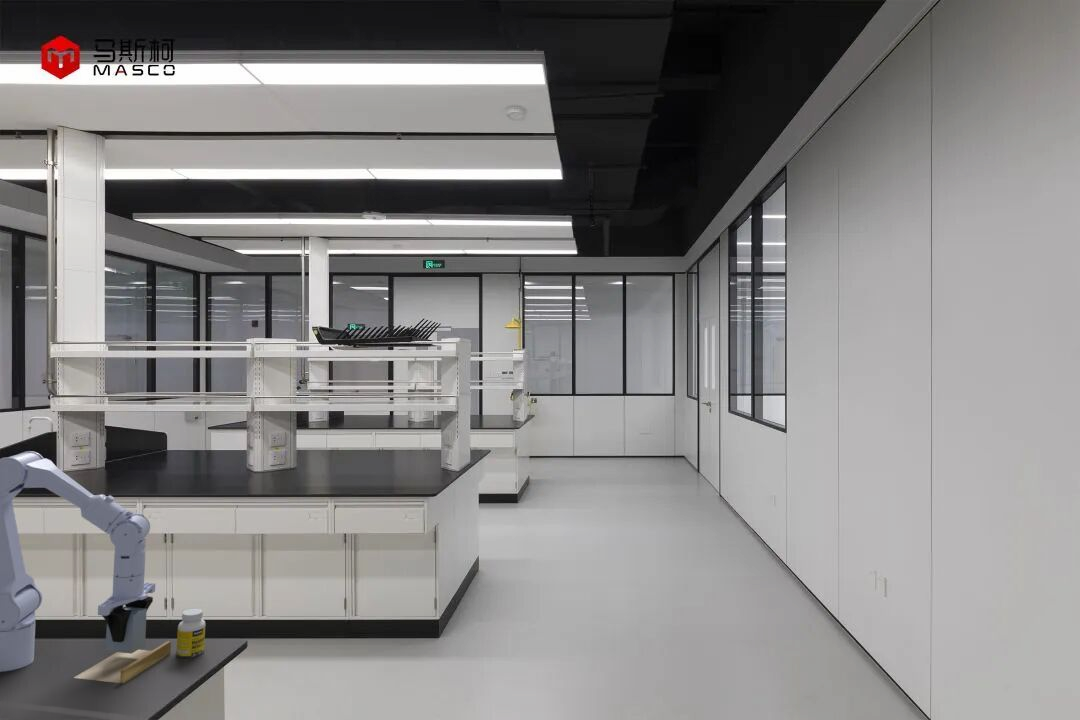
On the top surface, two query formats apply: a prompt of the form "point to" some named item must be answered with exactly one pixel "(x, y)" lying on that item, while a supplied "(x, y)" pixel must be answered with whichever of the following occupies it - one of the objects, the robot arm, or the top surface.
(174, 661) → the top surface
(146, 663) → the shelf board
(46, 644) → the top surface
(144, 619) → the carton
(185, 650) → the supplement bottle
